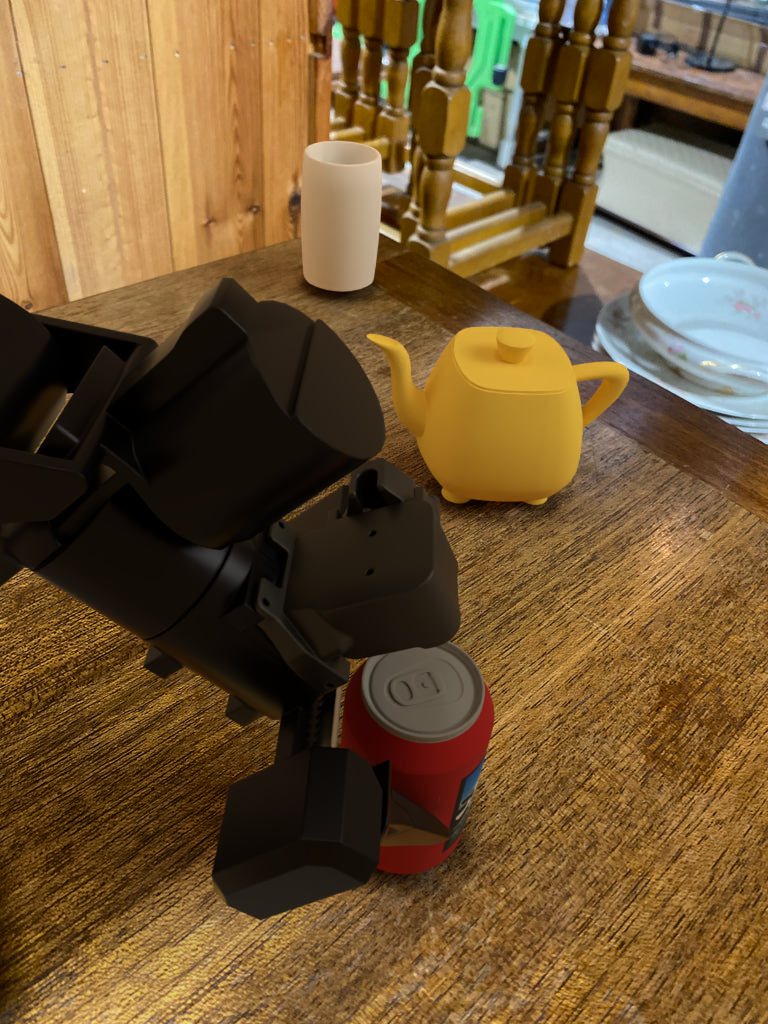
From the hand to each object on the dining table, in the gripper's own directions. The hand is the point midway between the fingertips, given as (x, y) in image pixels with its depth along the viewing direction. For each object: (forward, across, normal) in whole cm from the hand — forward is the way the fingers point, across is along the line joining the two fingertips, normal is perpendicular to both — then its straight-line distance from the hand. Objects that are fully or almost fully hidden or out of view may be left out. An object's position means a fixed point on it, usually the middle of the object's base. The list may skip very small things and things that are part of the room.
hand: (440, 751), depth 37 cm
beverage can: (+4, 0, +6) cm, 7 cm away
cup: (-2, +62, +12) cm, 63 cm away
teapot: (+8, +30, +2) cm, 32 cm away
